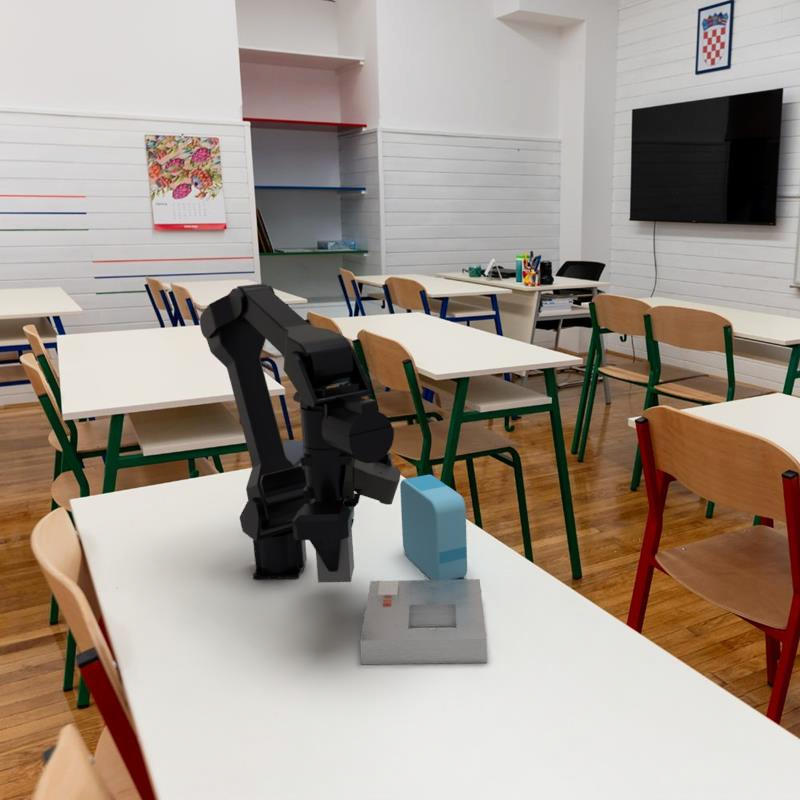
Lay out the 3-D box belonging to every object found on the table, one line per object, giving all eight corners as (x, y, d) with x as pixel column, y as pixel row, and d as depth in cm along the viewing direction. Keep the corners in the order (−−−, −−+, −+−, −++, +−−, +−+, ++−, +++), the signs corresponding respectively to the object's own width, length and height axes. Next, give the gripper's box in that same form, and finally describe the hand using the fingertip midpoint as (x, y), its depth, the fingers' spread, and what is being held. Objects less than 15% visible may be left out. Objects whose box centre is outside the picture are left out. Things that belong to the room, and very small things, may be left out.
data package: (468, 580, 105) (466, 497, 102) (438, 588, 104) (435, 504, 101) (430, 547, 116) (427, 471, 113) (402, 553, 114) (399, 476, 111)
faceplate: (361, 664, 87) (360, 635, 86) (371, 602, 101) (370, 576, 100) (487, 662, 86) (486, 633, 85) (480, 600, 100) (479, 574, 99)
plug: (314, 584, 94) (309, 523, 92) (320, 566, 99) (315, 507, 97) (353, 583, 94) (349, 522, 92) (357, 565, 99) (353, 506, 97)
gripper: (390, 466, 83) (396, 599, 86) (398, 419, 101) (403, 530, 105) (286, 469, 83) (297, 600, 87) (313, 422, 101) (321, 532, 105)
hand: (335, 563), depth 96 cm, fingers closed on plug, 4 cm apart
